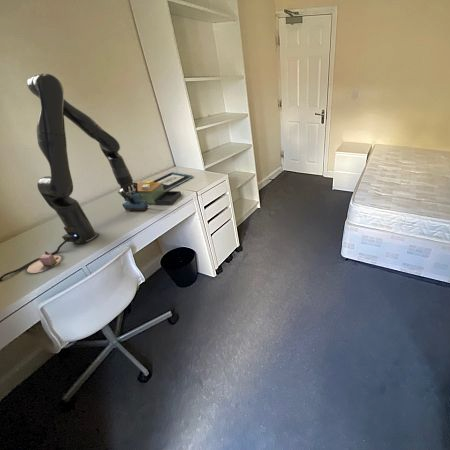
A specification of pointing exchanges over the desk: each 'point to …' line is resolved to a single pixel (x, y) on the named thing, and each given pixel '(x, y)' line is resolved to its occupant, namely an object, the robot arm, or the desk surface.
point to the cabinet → (150, 192)
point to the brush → (135, 203)
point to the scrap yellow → (149, 182)
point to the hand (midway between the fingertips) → (134, 202)
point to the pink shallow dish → (44, 263)
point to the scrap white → (146, 187)
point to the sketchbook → (172, 180)
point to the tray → (168, 198)
